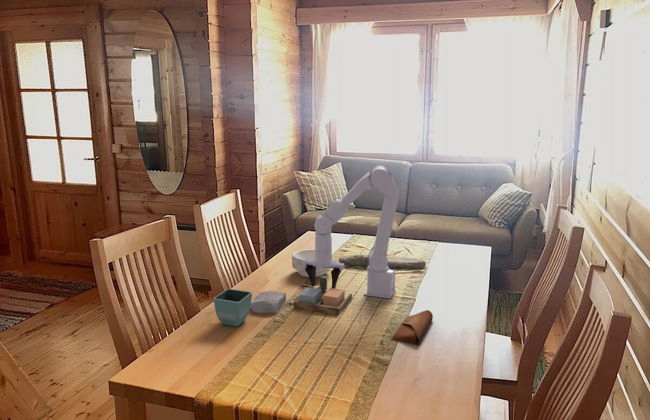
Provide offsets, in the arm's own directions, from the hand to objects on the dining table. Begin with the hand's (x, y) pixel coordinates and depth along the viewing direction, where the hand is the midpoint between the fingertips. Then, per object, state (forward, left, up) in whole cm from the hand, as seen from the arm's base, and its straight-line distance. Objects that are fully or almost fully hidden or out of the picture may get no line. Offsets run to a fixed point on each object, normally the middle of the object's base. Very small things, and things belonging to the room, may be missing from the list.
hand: (323, 287), depth 182 cm
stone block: (+13, +18, -2) cm, 22 cm away
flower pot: (+17, +33, -2) cm, 37 cm away
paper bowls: (+11, -16, -2) cm, 19 cm away
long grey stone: (-12, -35, -2) cm, 37 cm away
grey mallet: (0, +7, -2) cm, 7 cm away
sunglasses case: (-35, +20, -2) cm, 40 cm away
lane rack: (-4, +10, -2) cm, 11 cm away
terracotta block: (-7, +10, -2) cm, 13 cm away
